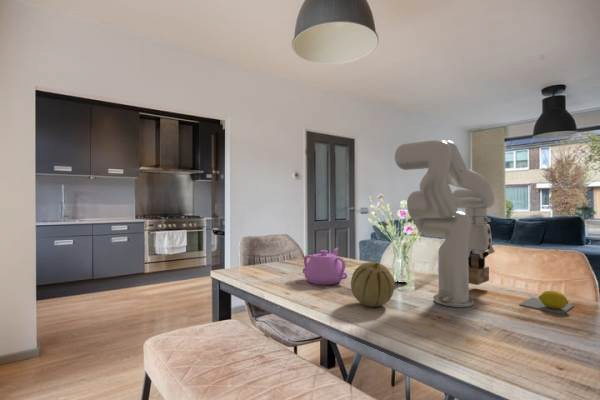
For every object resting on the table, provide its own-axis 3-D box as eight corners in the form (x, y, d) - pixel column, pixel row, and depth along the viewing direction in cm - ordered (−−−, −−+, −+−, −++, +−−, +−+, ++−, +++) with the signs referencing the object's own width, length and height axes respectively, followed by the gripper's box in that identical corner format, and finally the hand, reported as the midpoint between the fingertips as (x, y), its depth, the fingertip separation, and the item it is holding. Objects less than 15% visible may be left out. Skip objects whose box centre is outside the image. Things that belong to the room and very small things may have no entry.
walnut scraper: (476, 278, 141) (475, 251, 141) (489, 280, 138) (488, 252, 137) (464, 282, 135) (464, 254, 135) (477, 284, 131) (477, 255, 131)
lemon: (540, 306, 116) (570, 311, 110) (535, 305, 113) (566, 311, 107) (541, 289, 117) (571, 294, 111) (536, 287, 114) (567, 292, 108)
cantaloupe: (366, 296, 128) (366, 256, 128) (403, 305, 118) (402, 261, 118) (341, 305, 118) (341, 261, 118) (378, 316, 107) (378, 267, 107)
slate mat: (563, 314, 107) (562, 313, 107) (519, 305, 116) (519, 304, 116) (573, 306, 115) (573, 305, 115) (532, 298, 124) (531, 297, 124)
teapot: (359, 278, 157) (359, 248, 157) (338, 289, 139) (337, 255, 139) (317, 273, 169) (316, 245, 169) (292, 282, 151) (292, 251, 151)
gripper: (502, 221, 132) (502, 269, 132) (459, 219, 145) (460, 263, 145) (494, 222, 127) (494, 272, 127) (450, 220, 140) (451, 265, 140)
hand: (476, 267), depth 136 cm, fingers closed on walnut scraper, 3 cm apart
